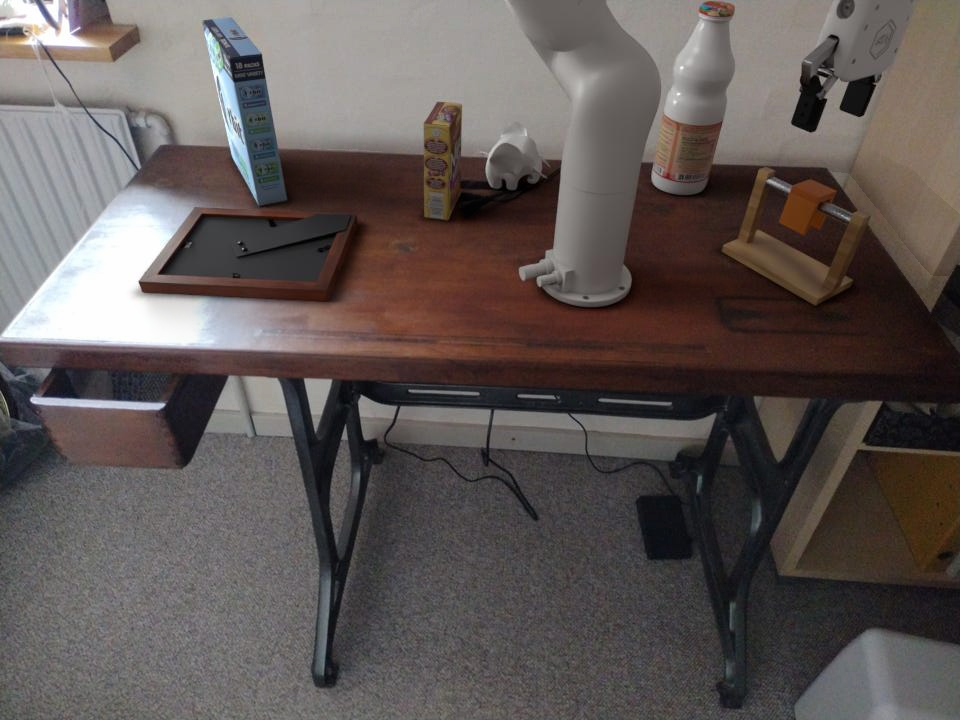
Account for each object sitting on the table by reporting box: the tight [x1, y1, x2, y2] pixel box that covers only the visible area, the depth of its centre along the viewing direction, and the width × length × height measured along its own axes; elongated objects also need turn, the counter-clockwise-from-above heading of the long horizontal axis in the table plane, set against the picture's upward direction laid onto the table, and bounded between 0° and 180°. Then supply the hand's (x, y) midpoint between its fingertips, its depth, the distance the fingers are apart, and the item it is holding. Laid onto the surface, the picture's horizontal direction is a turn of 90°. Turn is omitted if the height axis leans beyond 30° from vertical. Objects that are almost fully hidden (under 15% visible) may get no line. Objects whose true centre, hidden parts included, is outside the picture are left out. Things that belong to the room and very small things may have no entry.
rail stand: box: [721, 166, 872, 306], centre depth 94 cm, size 8×16×12 cm, turn 34°
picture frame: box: [138, 206, 359, 302], centre depth 98 cm, size 20×2×25 cm
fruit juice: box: [650, 0, 736, 196], centre depth 108 cm, size 9×9×28 cm
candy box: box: [423, 101, 463, 221], centre depth 105 cm, size 9×4×15 cm, turn 169°
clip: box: [778, 178, 838, 236], centre depth 91 cm, size 4×4×6 cm
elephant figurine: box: [479, 121, 552, 191], centre depth 113 cm, size 10×12×9 cm
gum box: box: [201, 16, 288, 207], centre depth 108 cm, size 20×5×23 cm, turn 27°
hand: (827, 120), depth 84 cm, fingers open, 9 cm apart
